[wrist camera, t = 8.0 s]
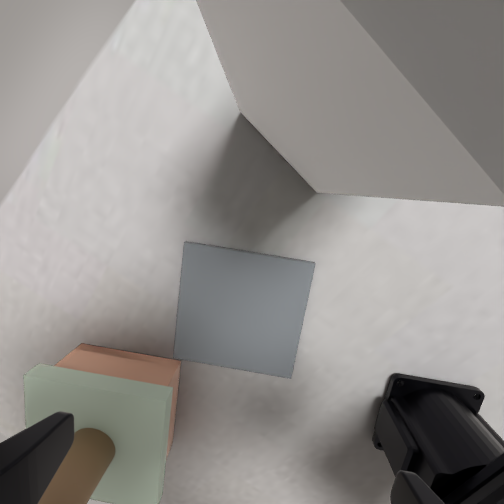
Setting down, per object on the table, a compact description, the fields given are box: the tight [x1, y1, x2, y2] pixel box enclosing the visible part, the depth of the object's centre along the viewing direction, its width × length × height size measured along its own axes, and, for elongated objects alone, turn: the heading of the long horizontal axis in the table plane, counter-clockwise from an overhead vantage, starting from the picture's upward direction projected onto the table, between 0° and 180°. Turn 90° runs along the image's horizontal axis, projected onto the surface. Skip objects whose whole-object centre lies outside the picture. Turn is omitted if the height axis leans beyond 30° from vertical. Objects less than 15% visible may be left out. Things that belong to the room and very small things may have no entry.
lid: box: [23, 363, 173, 504], centre depth 16 cm, size 9×9×6 cm
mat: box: [173, 241, 315, 379], centre depth 20 cm, size 9×9×1 cm
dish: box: [54, 343, 181, 459], centre depth 21 cm, size 8×8×4 cm
